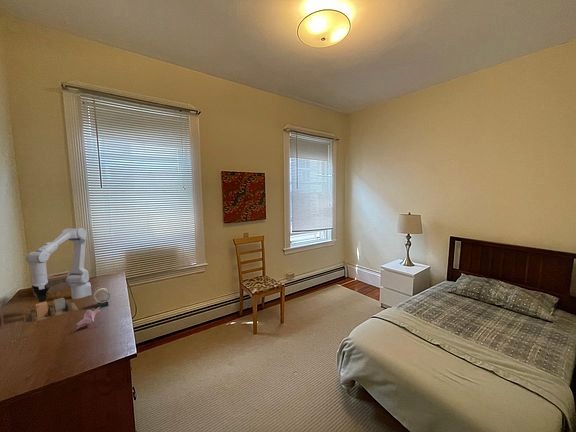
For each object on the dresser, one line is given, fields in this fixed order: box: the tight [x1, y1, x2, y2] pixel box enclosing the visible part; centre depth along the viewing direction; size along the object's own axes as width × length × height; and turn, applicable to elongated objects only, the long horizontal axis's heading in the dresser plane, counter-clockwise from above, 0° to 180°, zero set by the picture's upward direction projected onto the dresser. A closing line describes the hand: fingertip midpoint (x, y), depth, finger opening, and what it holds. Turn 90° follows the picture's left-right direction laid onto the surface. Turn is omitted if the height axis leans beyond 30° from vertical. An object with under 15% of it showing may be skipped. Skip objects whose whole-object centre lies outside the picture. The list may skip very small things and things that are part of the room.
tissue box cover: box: [31, 270, 81, 297], centre depth 165 cm, size 26×14×10 cm, turn 140°
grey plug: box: [53, 297, 66, 312], centre depth 131 cm, size 4×4×6 cm
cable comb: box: [22, 299, 79, 325], centre depth 128 cm, size 20×14×4 cm
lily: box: [75, 307, 102, 331], centre depth 115 cm, size 12×12×10 cm
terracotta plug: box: [35, 301, 48, 317], centre depth 125 cm, size 4×4×6 cm
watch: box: [93, 287, 112, 309], centre depth 136 cm, size 6×8×11 cm
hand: (41, 299), depth 125 cm, fingers open, 7 cm apart
